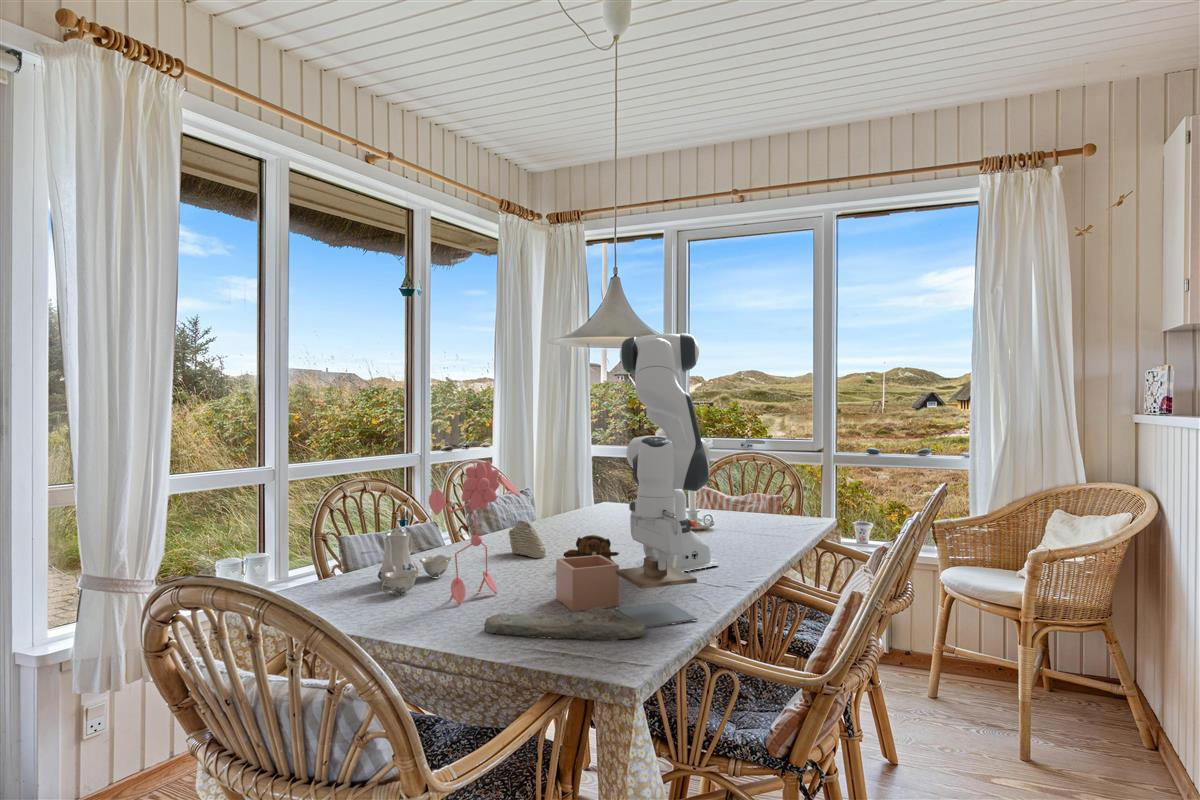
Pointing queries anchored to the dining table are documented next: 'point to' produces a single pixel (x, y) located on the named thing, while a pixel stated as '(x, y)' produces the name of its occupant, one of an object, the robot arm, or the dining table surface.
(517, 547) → the fossil tooth
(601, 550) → the wooden carving
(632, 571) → the walnut lid
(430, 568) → the chinaware
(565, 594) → the terracotta box
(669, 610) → the grey mat
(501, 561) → the dining table surface
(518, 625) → the long grey stone
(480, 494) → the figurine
